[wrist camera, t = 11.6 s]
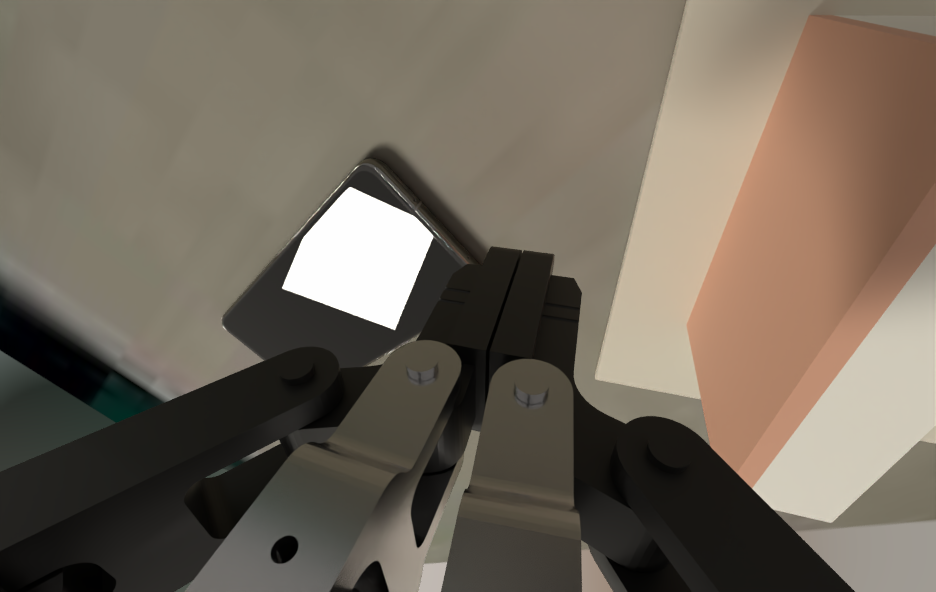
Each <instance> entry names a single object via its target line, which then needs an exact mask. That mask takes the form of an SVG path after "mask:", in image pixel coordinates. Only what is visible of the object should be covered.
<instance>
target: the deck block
mask: <svg viewBox="0 0 936 592" xmlns="http://www.w3.org/2000/svg"><path fill="white" fill-rule="evenodd" d="M686 326H687V331H688V336H689V341H690V346H691V351H692V356H693V361H694V366H695V371H696V376H697V381H698V386H699V391H700V396H701V401H702V406H703V411H704V416H705V421H706V426H707V431H708V436H709V441H710V446H711V448H712V449H713V450H714V451H715V452H716V453H717V454H718V455H719V456H720V457H721V458H722V459H723V460H724V461H725V462H726V463H727V464H728V465H729V466H730V467H731V468H732V469H733V470H734V471H735V472H736V473H737V474H738V475H739V476H740V477H741V478H742V479H743V480H744V481H745V482H746V483H747V484H748V485H749V486H750V487H751V488H752V489H753V490H754V491H755V492H756V493H757V494H758V495H759V496H760V497H761V498H762V499H763V500H764V501H765V502H766V503H767V504H768V505H769V506H770V507H771V508H772V509H774V510H778V511H782V512H787V513H791V514H795V515H800V516H804V517H808V518H812V519H817V520H821V521H825V522H829V523H832V522H833V521H834V520H835V519H836V518H837V517H838V516H839V515H840V514H841V513H843V512H844V511H845V510H846V509H847V508H848V507H849V506H850V505H851V504H852V503H853V502H854V501H855V500H856V499H858V498H859V497H860V496H861V495H862V494H863V493H864V492H865V491H866V490H867V489H868V488H869V487H870V486H871V485H872V484H874V483H875V482H876V481H877V480H878V479H879V478H880V477H881V476H882V475H883V474H884V473H885V472H886V471H887V470H889V469H890V468H891V467H892V466H893V465H894V464H895V463H896V462H897V461H898V460H899V459H900V458H901V457H902V456H903V455H905V454H906V453H907V452H908V451H909V450H910V449H911V448H912V447H913V446H914V445H915V444H916V443H917V442H918V441H920V440H921V439H922V438H923V437H924V436H925V435H926V434H927V433H928V432H929V431H930V430H931V429H932V428H933V427H934V426H936V16H887V15H809V16H808V19H807V21H806V24H805V26H804V29H803V32H802V34H801V37H800V39H799V42H798V44H797V47H796V49H795V52H794V54H793V57H792V59H791V62H790V64H789V67H788V69H787V72H786V74H785V77H784V80H783V82H782V85H781V87H780V90H779V92H778V95H777V97H776V100H775V102H774V105H773V107H772V110H771V112H770V115H769V117H768V120H767V123H766V125H765V128H764V130H763V133H762V135H761V138H760V140H759V143H758V145H757V148H756V150H755V153H754V155H753V158H752V160H751V163H750V165H749V168H748V171H747V173H746V176H745V178H744V181H743V183H742V186H741V188H740V191H739V193H738V196H737V198H736V201H735V203H734V206H733V208H732V211H731V214H730V216H729V219H728V221H727V224H726V226H725V229H724V231H723V234H722V236H721V239H720V241H719V244H718V246H717V249H716V251H715V254H714V256H713V259H712V262H711V264H710V267H709V269H708V272H707V274H706V277H705V279H704V282H703V284H702V287H701V289H700V292H699V294H698V297H697V299H696V302H695V305H694V307H693V310H692V312H691V315H690V317H689V320H688V322H687V325H686Z"/></svg>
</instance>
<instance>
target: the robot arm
mask: <svg viewBox="0 0 936 592" xmlns="http://www.w3.org/2000/svg"><path fill="white" fill-rule="evenodd" d="M553 264H554V254H548V253H540V252H533V251H525V250H524V251H523V253H522V250H516V249H508V248H501V247H493V246H492V247H491V248H490V250H489V252H488V254H487V256H486V258H485V261H484V263H483V265H482V266H481V265H474V264H466V265H465V266H463V267H462V268H460V269H459V270H458V271H456V272H455V273H453V274H452V276H451V278H450V280H449V282H448V284H447V285H446V287H445V290H444V291H443V293H442V295H441V296H440V298H439V301H438V302H437V304H436V306H435V307H434V309H433V311H432V313H431V315H430V316H429V318H428V320H427V322H426V324H425V326H424V327H423V329H422V331H421V333H420V335H419V337H418V338H417V340H416V341H414V342H410V343H407V344H405V345H403V346H401V347H399V348H397V349H396V350H395V351H393V352H392V353H391V354H390V356H389V357H388V358H387V359H386V361H385V362H384V364H382V365H377V366H367V367H351V368H340V366H339V362H338V360H337V358H336V356H335V355H334V354H333V353H332V352H330V351H329V350H326V349H324V348H320V347H300V348H296V349H292V350H289V351H287V352H284V353H282V354H279V355H277V356H275V357H272V358H270V359H267V360H265V361H263V362H260V363H258V364H256V365H253V366H251V367H248V368H246V369H244V370H241V371H239V372H237V373H234V374H232V375H229V376H227V377H225V378H222V379H220V380H218V381H215V382H213V383H210V384H208V385H206V386H203V387H201V388H198V389H196V390H194V391H191V392H189V393H187V394H184V395H182V396H179V397H177V398H175V399H172V400H170V401H168V402H165V403H163V404H160V405H158V406H156V407H153V408H151V409H149V410H146V411H144V412H141V413H139V414H137V415H134V416H132V417H130V418H127V419H125V420H122V421H120V422H118V423H115V424H113V425H111V426H108V427H106V428H103V429H101V430H99V431H96V432H94V433H92V434H89V435H87V436H85V437H82V438H80V439H77V440H75V441H73V442H70V443H68V444H65V445H63V446H61V447H58V448H56V449H54V450H51V451H49V452H46V453H44V454H42V455H39V456H37V457H35V458H32V459H30V460H27V461H25V462H23V463H20V464H18V465H15V466H13V467H11V468H8V469H6V470H4V471H1V472H0V592H174V591H176V590H177V589H180V588H181V587H183V586H184V585H186V584H188V583H189V582H191V581H192V583H191V584H190V585H189V587H188V588H187V589H186V590H185V592H418V590H419V586H420V582H421V577H422V570H423V565H424V561H425V558H426V555H427V552H428V549H429V547H430V544H431V542H432V539H433V537H434V534H435V532H436V529H437V527H438V524H439V522H440V519H441V517H442V514H443V512H444V509H445V507H446V504H447V502H448V499H449V497H450V494H451V492H452V489H453V487H454V484H455V482H456V479H457V477H458V475H459V472H460V470H461V467H462V464H463V459H464V451H465V448H466V445H467V442H468V439H469V436H470V433H471V430H475V431H479V432H480V436H479V441H478V446H477V451H476V456H475V461H474V466H473V471H472V475H471V480H470V484H469V487H468V489H465V491H464V493H463V496H462V499H461V503H460V507H459V511H458V515H457V520H456V525H455V529H454V534H453V539H452V543H451V548H450V553H449V557H448V562H447V567H446V571H445V576H444V581H443V586H442V590H441V592H582V572H581V540H582V541H584V542H585V543H587V544H588V546H589V549H590V552H591V554H592V556H593V558H594V560H595V562H596V564H597V565H598V567H599V569H600V570H601V572H602V574H603V575H604V577H605V579H606V580H607V582H608V584H609V585H610V587H611V588H612V590H613V592H855V591H854V590H853V589H852V588H851V587H850V586H849V585H848V584H847V583H845V581H844V580H843V579H842V578H841V577H840V576H839V575H838V574H837V573H836V572H835V571H834V570H833V569H832V568H831V567H830V566H829V565H828V564H827V563H826V562H825V561H824V560H823V559H822V558H821V557H820V556H819V555H818V554H817V553H816V552H814V550H813V549H812V548H811V547H810V546H809V545H808V544H807V543H806V542H805V541H804V540H803V539H802V538H801V537H800V536H799V535H798V534H797V533H796V532H795V531H794V530H793V529H792V528H791V527H790V526H789V525H788V524H787V523H786V522H785V521H784V520H783V519H782V518H781V517H780V516H779V515H778V514H777V513H776V512H775V511H774V510H773V509H772V508H771V507H770V506H769V505H768V504H767V503H766V502H765V501H764V500H763V499H762V498H761V497H760V496H759V495H758V494H757V493H756V492H755V491H754V490H753V489H752V488H751V487H750V486H749V485H748V484H747V483H746V482H745V481H744V480H743V479H742V478H741V477H740V476H739V475H738V474H737V473H736V472H735V471H734V470H733V469H732V468H731V467H730V466H729V465H728V464H727V463H726V462H725V461H724V460H723V459H722V458H721V457H720V456H719V455H718V454H717V453H716V452H715V451H714V450H713V449H712V448H711V447H710V446H709V445H708V444H707V443H706V442H705V441H704V440H703V439H702V438H701V437H700V436H699V435H698V434H696V433H695V432H694V431H692V430H691V429H689V428H688V427H686V426H684V425H682V424H680V423H678V422H676V421H673V420H670V419H667V418H662V417H656V416H646V417H640V418H636V419H634V420H632V421H630V422H628V423H627V424H625V423H622V422H620V421H618V420H616V419H614V418H612V417H610V416H608V415H606V414H604V413H602V412H601V411H599V410H597V409H596V408H594V407H593V406H592V405H590V404H589V403H588V402H587V401H586V400H585V399H584V398H583V397H582V395H581V394H580V392H579V391H578V389H577V387H576V385H575V382H574V363H575V353H576V344H577V334H578V323H579V315H580V305H581V296H582V292H581V290H580V288H579V287H578V285H577V283H576V281H575V279H574V278H568V277H561V276H554V275H552V272H553ZM277 440H280V443H281V444H279V445H277V446H275V447H273V448H271V449H270V450H268V451H266V452H264V453H262V454H260V455H258V456H256V457H254V458H252V459H250V460H248V461H246V462H244V463H243V464H241V465H239V466H237V467H235V468H233V469H231V470H229V471H227V472H225V473H223V474H221V475H219V476H216V477H212V478H205V477H207V476H209V475H211V474H213V473H215V472H217V471H218V470H220V469H222V468H224V467H226V466H228V465H230V464H232V463H234V462H236V461H238V460H240V459H242V458H244V457H246V456H248V455H250V454H252V453H254V452H256V451H257V450H259V449H261V448H263V447H265V446H267V445H269V444H271V443H273V442H275V441H277Z"/></svg>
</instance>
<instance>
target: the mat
mask: <svg viewBox="0 0 936 592" xmlns="http://www.w3.org/2000/svg"><path fill="white" fill-rule="evenodd" d="M809 15H887V16H936V0H687V1H686V5H685V9H684V13H683V17H682V21H681V26H680V30H679V34H678V38H677V42H676V46H675V50H674V54H673V58H672V62H671V66H670V70H669V75H668V79H667V83H666V87H665V91H664V95H663V99H662V103H661V107H660V111H659V115H658V120H657V124H656V128H655V132H654V136H653V140H652V144H651V148H650V152H649V156H648V160H647V164H646V169H645V173H644V177H643V181H642V185H641V189H640V193H639V197H638V201H637V205H636V209H635V213H634V218H633V222H632V226H631V230H630V234H629V238H628V242H627V246H626V250H625V254H624V258H623V263H622V267H621V271H620V275H619V279H618V283H617V287H616V291H615V295H614V299H613V303H612V307H611V312H610V316H609V320H608V324H607V328H606V332H605V336H604V340H603V344H602V348H601V352H600V356H599V361H598V365H597V369H596V373H595V379H596V380H601V381H607V382H612V383H617V384H622V385H628V386H633V387H638V388H644V389H649V390H654V391H660V392H665V393H670V394H676V395H681V396H686V397H691V398H697V399H701V396H700V391H699V386H698V381H697V376H696V371H695V366H694V361H693V356H692V351H691V346H690V341H689V336H688V331H687V326H686V325H687V322H688V320H689V317H690V315H691V312H692V310H693V307H694V305H695V302H696V299H697V297H698V294H699V292H700V289H701V287H702V284H703V282H704V279H705V277H706V274H707V272H708V269H709V267H710V264H711V262H712V259H713V256H714V254H715V251H716V249H717V246H718V244H719V241H720V239H721V236H722V234H723V231H724V229H725V226H726V224H727V221H728V219H729V216H730V214H731V211H732V208H733V206H734V203H735V201H736V198H737V196H738V193H739V191H740V188H741V186H742V183H743V181H744V178H745V176H746V173H747V171H748V168H749V165H750V163H751V160H752V158H753V155H754V153H755V150H756V148H757V145H758V143H759V140H760V138H761V135H762V133H763V130H764V128H765V125H766V123H767V120H768V117H769V115H770V112H771V110H772V107H773V105H774V102H775V100H776V97H777V95H778V92H779V90H780V87H781V85H782V82H783V80H784V77H785V74H786V72H787V69H788V67H789V64H790V62H791V59H792V57H793V54H794V52H795V49H796V47H797V44H798V42H799V39H800V37H801V34H802V32H803V29H804V26H805V24H806V21H807V19H808V16H809ZM920 441H925V442H930V443H936V426H934V427H933V428H932V429H931V430H930V431H929V432H928V433H927V434H926V435H925V436H924V437H923V438H922V439H921V440H920Z"/></svg>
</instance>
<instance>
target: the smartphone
mask: <svg viewBox="0 0 936 592" xmlns="http://www.w3.org/2000/svg"><path fill="white" fill-rule="evenodd" d="M466 264H474V265H479V263H478V262H477V261H476V260H475V259H474V258H473V257H472V256H471V255H470V254H469V253H468V252H467V251H466V249H465V248H464V247H463V246H462V245H461V244H460V243H459V242H458V241H457V240H456V239H455V238H454V237H453V235H452V234H451V233H450V232H449V231H448V230H447V229H446V228H445V227H444V226H443V225H442V224H441V223H440V221H439V220H438V219H437V218H436V217H435V216H434V215H433V214H432V213H431V212H430V211H429V210H428V209H427V207H426V206H425V205H424V204H423V203H422V202H421V201H420V200H419V199H418V198H417V197H416V196H415V195H414V193H413V192H412V191H411V190H410V189H409V188H408V187H407V186H406V185H405V184H404V183H403V182H402V180H401V179H400V178H399V177H398V176H397V175H396V174H395V173H394V172H393V171H392V170H391V169H390V168H389V167H388V166H387V165H386V164H385V163H384V162H382V161H380V160H378V159H374V158H370V159H365V160H363V161H361V162H360V163H359V164H358V165H357V166H356V167H355V168H354V169H353V170H352V171H351V173H350V174H349V175H348V176H347V177H346V178H345V179H344V180H343V182H342V183H341V184H340V185H339V186H338V187H337V188H336V189H335V191H334V192H333V193H332V194H331V195H330V196H329V197H328V198H327V199H326V201H325V202H324V203H323V204H322V205H321V206H320V207H319V208H318V210H317V211H316V212H315V213H314V214H313V215H312V216H311V217H310V219H309V220H308V221H307V222H306V223H305V224H304V225H303V226H302V228H301V229H300V230H299V231H298V232H297V233H296V234H295V235H294V236H293V238H292V239H291V240H290V241H289V242H288V243H287V244H286V245H285V247H284V248H283V249H282V250H281V251H280V252H279V253H278V254H277V256H276V257H275V258H274V259H273V260H272V261H271V262H270V263H269V264H268V266H267V267H266V268H265V269H264V270H263V271H262V272H261V273H260V275H259V276H258V277H257V278H256V279H255V280H254V281H253V282H252V284H251V285H250V286H249V287H248V288H247V289H246V290H245V291H244V293H243V294H242V295H241V296H240V297H239V298H238V299H237V300H236V301H235V303H234V304H233V305H232V306H231V307H230V308H229V309H228V310H227V312H226V313H225V314H224V315H223V317H222V319H221V322H222V325H223V327H224V328H225V329H226V330H227V331H228V332H229V333H230V334H232V335H233V336H234V337H235V338H237V339H238V340H239V341H241V342H242V343H243V344H244V345H246V346H247V347H248V348H249V349H251V350H252V351H253V352H254V353H256V354H257V355H258V356H259V357H261V358H262V359H263V360H264V361H265V360H267V359H270V358H272V357H275V356H277V355H279V354H282V353H284V352H287V351H289V350H292V349H296V348H300V347H320V348H324V349H326V350H329V351H330V352H332V353H333V354H334V355H335V356H336V358H337V360H338V362H339V366H340V368H351V367H366V366H367V365H369V364H371V363H372V362H374V361H376V360H378V359H379V358H381V357H383V356H384V355H386V354H388V353H389V352H391V351H393V350H395V349H396V348H398V347H400V346H402V345H404V344H406V343H407V342H409V341H411V339H413V338H415V337H417V336H418V335H420V333H421V331H422V329H423V327H424V326H425V324H426V322H427V320H428V318H429V316H430V315H431V313H432V311H433V309H434V307H435V306H436V304H437V302H438V301H439V298H440V296H441V295H442V293H443V291H444V290H445V287H446V285H447V284H448V282H449V280H450V278H451V276H452V274H453V273H455V272H456V271H458V270H459V269H460V268H462V267H463V266H465V265H466Z"/></svg>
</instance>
